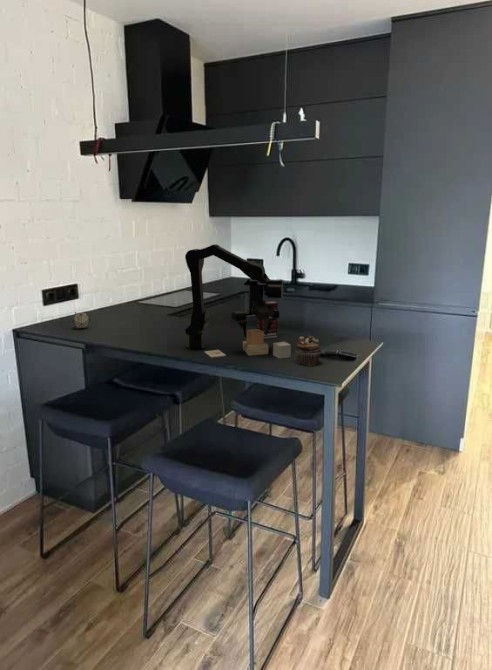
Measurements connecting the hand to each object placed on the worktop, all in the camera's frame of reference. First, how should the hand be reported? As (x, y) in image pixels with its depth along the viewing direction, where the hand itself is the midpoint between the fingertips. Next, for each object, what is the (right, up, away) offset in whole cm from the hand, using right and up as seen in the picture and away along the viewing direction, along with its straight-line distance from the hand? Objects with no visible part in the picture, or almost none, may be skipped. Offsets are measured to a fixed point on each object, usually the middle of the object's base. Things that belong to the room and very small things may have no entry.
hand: (255, 336), depth 187 cm
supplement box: (+5, -1, +25) cm, 26 cm away
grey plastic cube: (+10, -8, -4) cm, 13 cm away
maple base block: (0, -7, +2) cm, 7 cm away
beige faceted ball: (-81, +3, +37) cm, 89 cm away
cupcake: (+19, -10, -11) cm, 24 cm away
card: (-16, -7, -2) cm, 18 cm away
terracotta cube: (0, -3, +1) cm, 3 cm away
